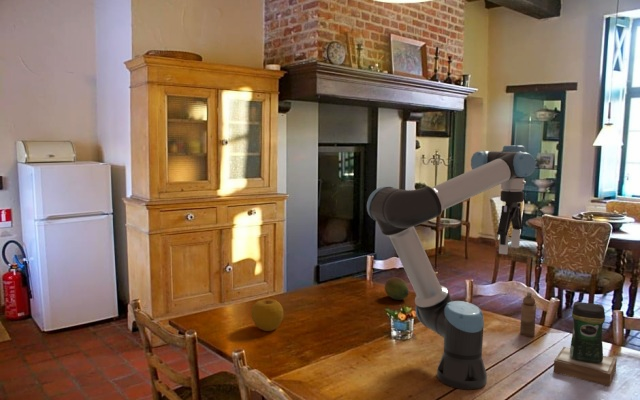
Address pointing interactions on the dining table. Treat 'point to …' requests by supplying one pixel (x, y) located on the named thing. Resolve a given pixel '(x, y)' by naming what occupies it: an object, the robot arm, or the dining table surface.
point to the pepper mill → (528, 316)
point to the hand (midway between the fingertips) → (509, 250)
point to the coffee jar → (587, 332)
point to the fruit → (396, 288)
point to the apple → (267, 314)
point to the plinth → (585, 368)
